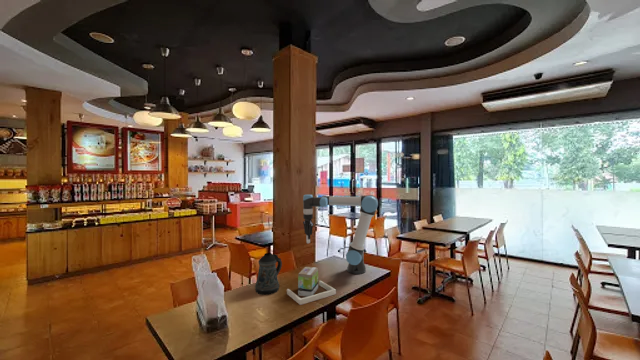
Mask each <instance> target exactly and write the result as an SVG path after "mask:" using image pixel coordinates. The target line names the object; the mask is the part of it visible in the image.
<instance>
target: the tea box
mask: <svg viewBox="0 0 640 360" xmlns="http://www.w3.org/2000/svg"><path fill="white" fill-rule="evenodd" d="M297 277H298V278H297V280H298V281H297V284H298V285H297V296H299V297H308V296H312V295H315V293H316V292H317V290H318V289H319V267H315V266H314V267H313V266H305V267H303V268H302V269H301V271H300V272H299V273H298V276H297Z"/></svg>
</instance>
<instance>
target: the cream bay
mask: <svg viewBox="0 0 640 360" xmlns="http://www.w3.org/2000/svg"><path fill="white" fill-rule="evenodd" d="M318 286H320V287H322V288H323V289H325V290H326V291H323V292H319V293H317V294H315V293H314V294H313V295H312V296H308V297H307V296H304V297H301V296H299V295H298V294H296V293H295V292H293V291H292V290H291V289H290V288H287V289H286V295H287V296H289V297H290V298H291V299H293V301H294V302H296V303H298V305H300V306H301V305H305V304H308V303H311V302H314V301H318V300H322V299H325V298H328V297H331V296H334V295H336V294H337V289H335V288H334V287H332V286H331V285H329V284H327V283H326V282H324V281H323V280H318Z"/></svg>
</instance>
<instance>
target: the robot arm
mask: <svg viewBox="0 0 640 360" xmlns="http://www.w3.org/2000/svg"><path fill="white" fill-rule="evenodd" d="M302 196H303V199H302V204H303V207H302V208H303V210H302V211H303V216H302V217H303V219H304V221H302V224H303V229H304V230H303V231H304V234H305V235H306V240H305V241H306V244H310V243H311V236H312V235H313V227H314V223H313V221H312V219H313V216H314V214H313V213H314V212H313V211H314V210H313V209H314V208H315V207H318V208H326V207H327V206H346V207H347V206H348V207H349V206H350V207H360V209H359V212H360V215H359V219H358V222H357V226H356V228H355V229H356V230H355V232H354V236H353V239H352V242H350V243H349V244H348V249H347V253H346V255H345V258H346V259H345V260H346V261H347V263H348V265H347V269H346V270H347V272H348V273H350V274H353V275H354V274H355V275H360V274H365V273H366V271H367V267H366V265H365V262H364V257H365V256H364V252H365V248H364V244H365V242H366V238H367V234H368V232H369V228H370V226H371V223H372V221H371V220H372V217H375V215H376V212H377V209H378V206H379V199H378V198H377V196H375V195H373V194H367V195H360V196H345V195H344V196H341V195H340V196H339V195H337V196H336V195H333V196H332V195H322V196H316V197H315V196H313V194H304V195H302Z"/></svg>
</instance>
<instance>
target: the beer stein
mask: <svg viewBox="0 0 640 360" xmlns="http://www.w3.org/2000/svg"><path fill="white" fill-rule="evenodd" d="M276 264H277V265H276ZM282 267H283V262H282V259H281V258H280V257H278V254H275V253H272V252H267V253H264V255H263V256H261V258H259V260H258V272H257V278H256V281H255V282H256V283H255V285H254V289H255V293H256V294H257V295H260V296H271V295H273V294H275V293H278V291H279V289H280V283H279V280H278V275H279V273H280V272H281V269H282Z"/></svg>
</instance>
